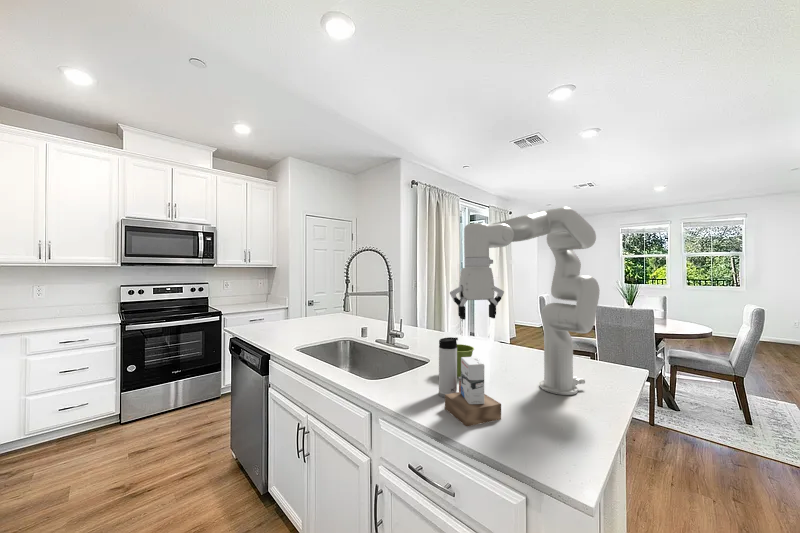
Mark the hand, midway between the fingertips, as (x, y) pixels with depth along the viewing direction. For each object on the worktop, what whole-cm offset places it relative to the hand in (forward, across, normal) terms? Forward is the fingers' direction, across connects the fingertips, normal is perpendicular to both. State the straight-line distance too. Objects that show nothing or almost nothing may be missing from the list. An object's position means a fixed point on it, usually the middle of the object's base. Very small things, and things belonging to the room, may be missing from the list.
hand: (477, 318), depth 98 cm
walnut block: (+29, +3, +2) cm, 29 cm away
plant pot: (+29, -6, -33) cm, 44 cm away
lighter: (+29, 0, -9) cm, 30 cm away
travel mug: (+29, +6, -13) cm, 32 cm away
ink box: (+24, +3, +2) cm, 25 cm away
